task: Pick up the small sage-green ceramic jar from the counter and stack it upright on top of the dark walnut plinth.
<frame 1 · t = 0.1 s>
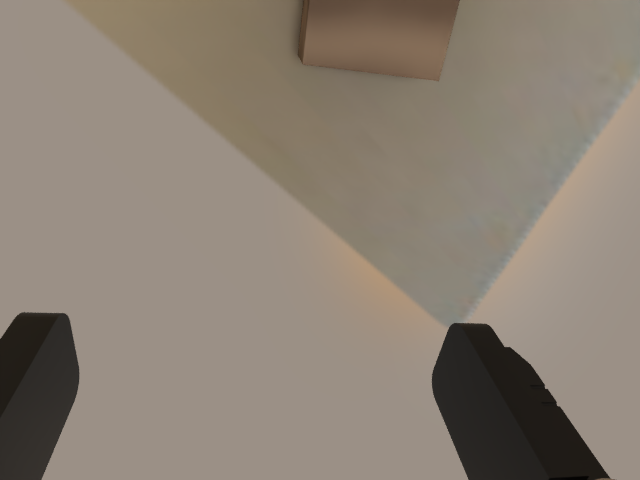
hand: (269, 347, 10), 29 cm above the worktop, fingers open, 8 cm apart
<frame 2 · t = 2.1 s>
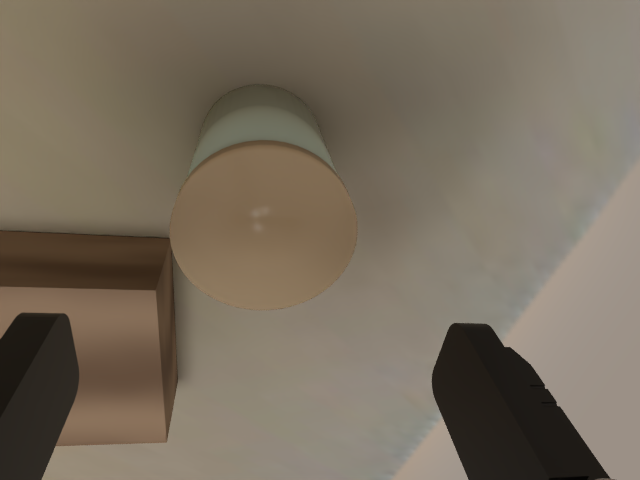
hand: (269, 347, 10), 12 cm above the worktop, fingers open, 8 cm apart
plinth: (74, 316, 23), on the worktop
jar: (261, 145, 19), on the worktop
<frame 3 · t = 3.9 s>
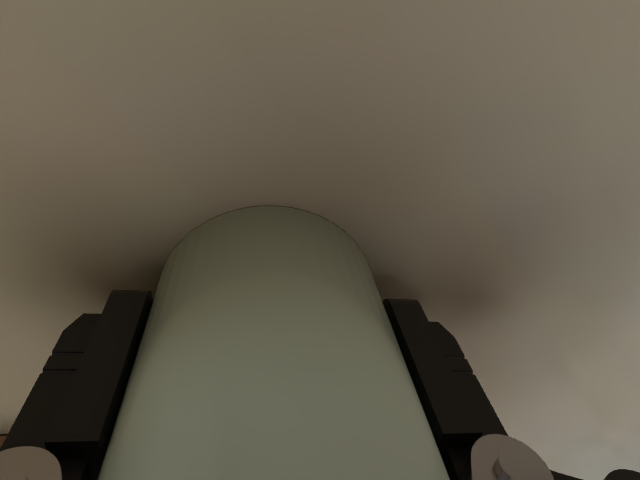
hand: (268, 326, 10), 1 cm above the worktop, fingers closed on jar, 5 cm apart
jar: (268, 299, 11), on the worktop, touching gripper
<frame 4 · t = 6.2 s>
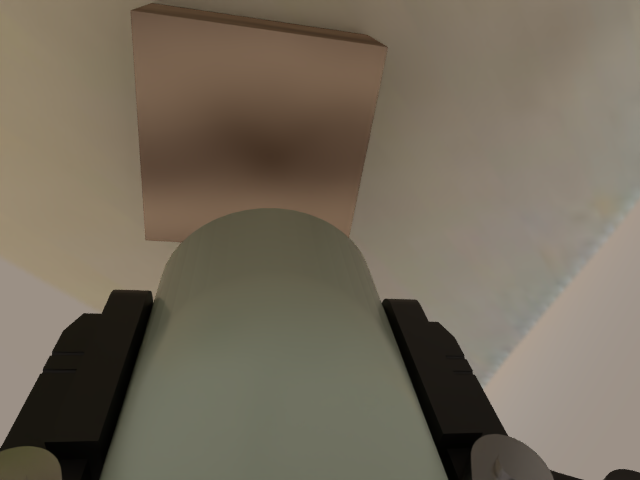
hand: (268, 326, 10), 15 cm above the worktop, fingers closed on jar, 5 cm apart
plinth: (256, 124, 23), on the worktop
jar: (268, 301, 11), point 15 cm above the worktop, touching gripper
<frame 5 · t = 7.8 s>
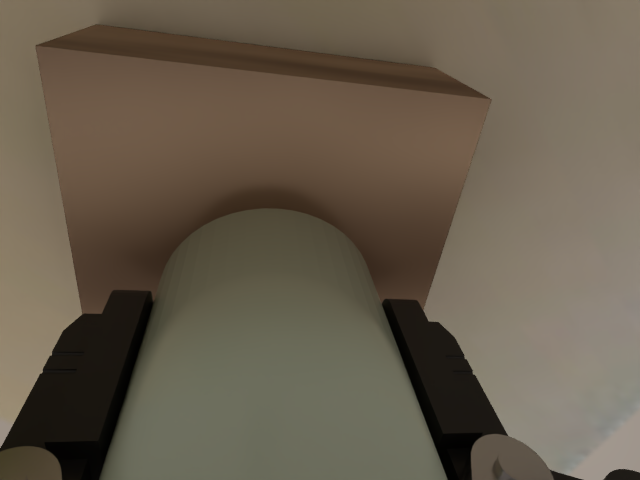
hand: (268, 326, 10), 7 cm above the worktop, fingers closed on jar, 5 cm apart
plinth: (264, 199, 16), on the worktop
jar: (268, 301, 11), point 6 cm above the worktop, touching gripper
when the fingers open (6 cm above the worktop, at t = 8.8 s): jar drops 1 cm, resting on plinth.
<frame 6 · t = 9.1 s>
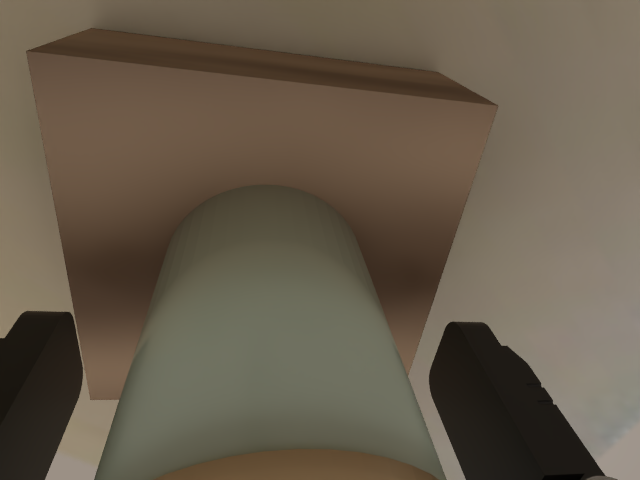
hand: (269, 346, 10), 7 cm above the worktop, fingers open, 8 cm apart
plinth: (264, 206, 15), on the worktop
jar: (265, 273, 12), point 4 cm above the worktop, touching plinth
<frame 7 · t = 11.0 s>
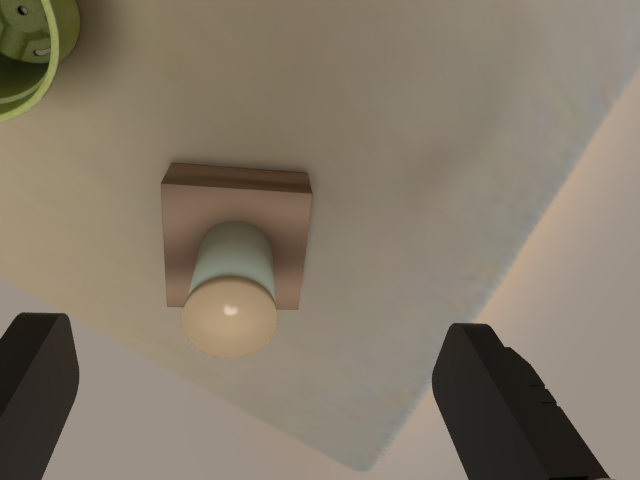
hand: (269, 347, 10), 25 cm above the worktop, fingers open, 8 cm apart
plant pot: (29, 9, 27), on the worktop
plinth: (238, 227, 35), on the worktop
jar: (236, 253, 32), point 4 cm above the worktop, touching plinth
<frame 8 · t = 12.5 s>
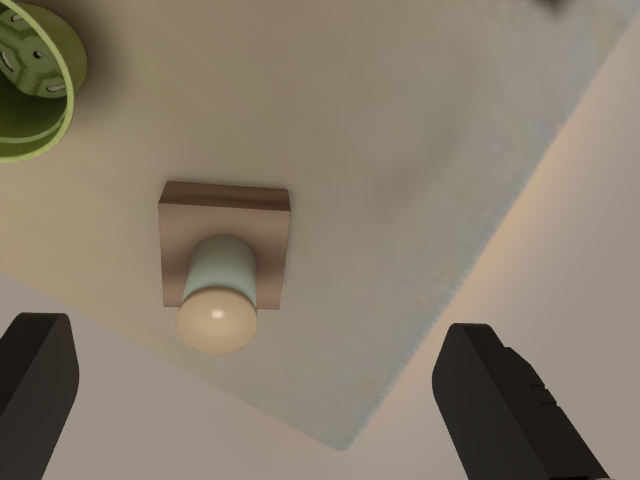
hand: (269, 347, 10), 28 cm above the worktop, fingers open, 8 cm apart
plant pot: (43, 52, 31), on the worktop
plinth: (227, 236, 40), on the worktop
jar: (224, 261, 37), point 4 cm above the worktop, touching plinth
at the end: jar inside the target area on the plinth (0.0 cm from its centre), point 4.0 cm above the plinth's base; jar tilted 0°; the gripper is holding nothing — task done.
